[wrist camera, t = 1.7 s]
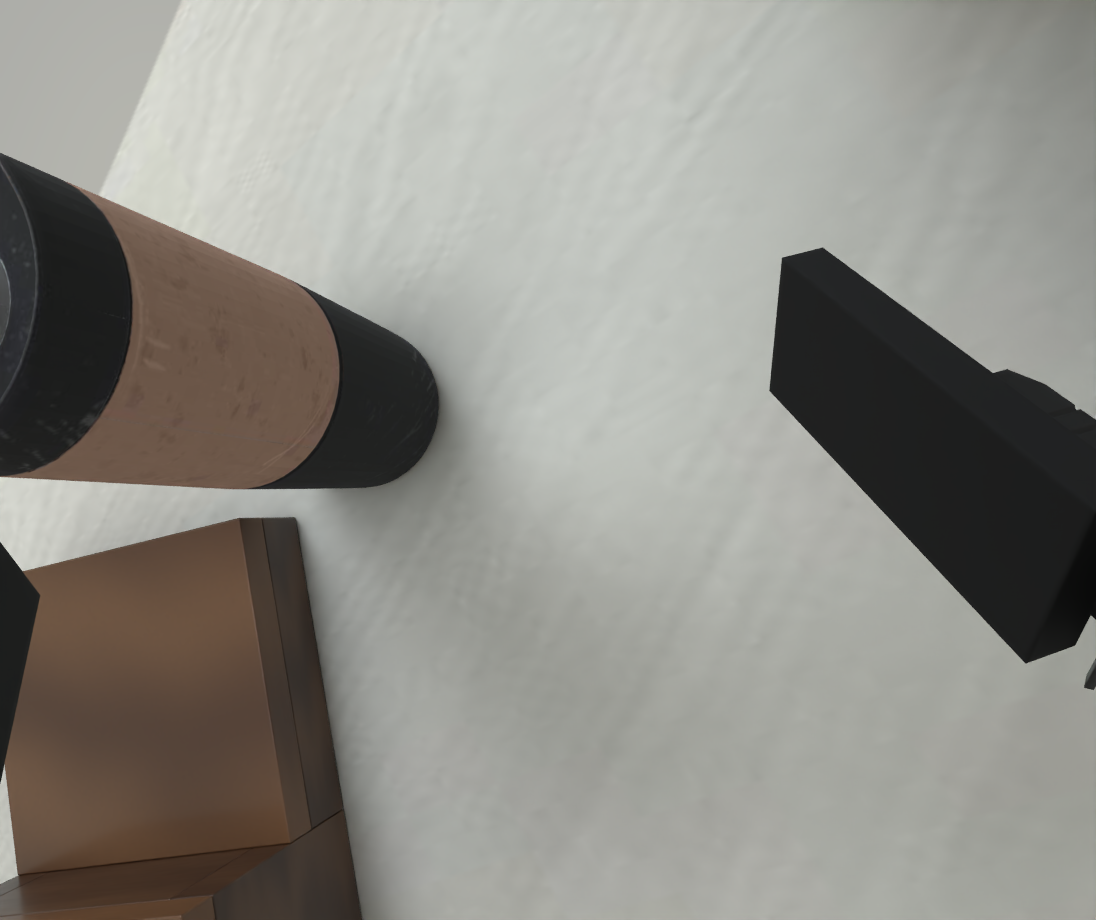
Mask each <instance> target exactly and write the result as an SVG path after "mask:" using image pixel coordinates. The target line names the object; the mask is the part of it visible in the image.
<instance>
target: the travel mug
mask: <svg viewBox="0 0 1096 920" xmlns="http://www.w3.org/2000/svg"><path fill="white" fill-rule="evenodd" d="M437 416H438V394H437V388H436V384H435V380H434V377H433V375H432V372H431V370H430V368H429V366H428V364H427V363H426V361H425V359H424V358H423V357H422V355H421V354H420V353H419V352H418V351H417V350H416V349H415V348H414V347H413V346H412V345H411V344H410V343H408V342H407V341H406V340H404V339H403V338H401V337H400V336H398V335H396V334H394V333H392V332H390V331H389V330H387V329H385V328H383V327H381V326H379V325H377V324H375V323H374V322H372V321H370V320H368V319H366V318H364V317H362V316H360V315H358V314H356V313H354V312H352V311H350V310H348V309H346V308H344V307H342V306H340V305H338V304H336V303H335V302H333V301H331V300H329V299H327V298H325V297H323V296H321V295H319V294H317V293H315V292H313V291H311V290H309V289H307V288H305V287H303V286H301V285H299V284H297V283H296V282H294V281H292V280H289V279H287V278H285V277H283V276H281V275H279V274H277V273H274V272H272V271H270V270H267V269H265V268H263V267H261V266H258V265H256V264H254V263H251V262H249V261H247V260H245V259H242V258H240V257H238V256H235V255H233V254H231V253H228V252H226V251H224V250H222V249H219V248H217V247H215V246H212V245H210V244H208V243H206V242H203V241H201V240H199V239H196V238H194V237H192V236H190V235H187V234H185V233H183V232H180V231H178V230H176V229H173V228H171V227H169V226H167V225H164V224H162V223H160V222H157V221H155V220H153V219H151V218H148V217H146V216H144V215H141V214H139V213H137V212H135V211H132V210H130V209H128V208H125V207H123V206H121V205H119V204H116V203H114V202H112V201H109V200H107V199H105V198H102V197H100V196H98V195H96V194H93V193H91V192H89V191H86V190H84V189H82V188H79V187H77V186H75V185H72V184H70V183H68V182H65V181H63V180H61V179H59V178H57V177H54V176H52V175H50V174H47V173H45V172H43V171H41V170H38V169H36V168H34V167H31V166H29V165H27V164H25V163H22V162H20V161H17V160H15V159H13V158H11V157H8V156H6V155H4V154H2V153H0V477H13V478H32V479H51V480H70V481H89V482H108V483H126V484H145V485H164V486H183V487H202V488H221V489H321V488H366V487H373V486H378V485H382V484H385V483H388V482H390V481H392V480H394V479H396V478H398V477H399V476H401V475H402V474H404V473H405V472H407V471H408V470H409V469H410V468H411V467H412V466H414V465H415V463H416V462H417V461H418V460H419V459H420V458H421V456H422V455H423V453H424V452H425V450H426V449H427V447H428V445H429V443H430V441H431V439H432V436H433V433H434V430H435V426H436V422H437Z"/></svg>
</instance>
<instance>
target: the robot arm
mask: <svg viewBox="0 0 1096 920" xmlns="http://www.w3.org/2000/svg"><path fill="white" fill-rule="evenodd" d="M770 392H771V393H772V394H773V395H774V396H775V397H776V398H777V399H778V400H779V401H780V403H781V404H782V405H783V406H784V407H785V408H786V409H787V410H788V411H789V412H790V413H791V414H792V415H793V416H794V417H795V418H796V420H797V421H798V422H799V423H800V424H801V425H802V426H803V427H804V428H805V429H806V430H807V431H808V432H809V433H810V434H811V436H812V437H813V438H814V439H815V440H816V441H817V442H818V443H819V444H820V445H821V446H822V447H823V448H824V449H825V450H826V451H827V453H828V454H829V455H830V456H831V457H832V458H833V459H834V460H835V461H836V462H837V463H838V464H839V465H840V466H841V467H842V469H843V470H844V471H845V472H846V473H847V474H848V475H849V476H850V477H851V478H852V479H853V480H854V481H855V482H856V483H857V485H858V486H859V487H860V488H861V489H862V490H863V491H864V492H865V493H866V494H867V495H868V496H869V497H870V498H871V499H872V500H873V502H874V503H875V504H876V505H877V506H878V507H879V508H880V509H881V510H882V511H883V512H884V513H885V514H886V515H887V516H888V518H889V519H890V520H891V521H892V522H893V523H894V524H895V525H896V526H897V527H898V528H899V529H900V530H901V531H902V532H903V533H904V535H905V536H906V537H907V538H908V539H909V540H910V541H911V542H912V543H913V544H914V545H915V546H916V547H917V548H918V549H919V551H920V552H921V553H922V554H923V555H924V556H925V557H926V558H927V559H928V560H929V561H930V562H931V563H932V564H933V565H934V566H935V568H936V569H937V570H938V571H939V572H940V573H941V574H942V575H943V576H944V577H945V578H946V579H947V580H948V581H949V582H950V584H951V585H952V586H953V587H954V588H955V589H956V590H957V591H958V592H959V593H960V594H961V595H962V596H963V597H964V598H965V599H966V601H967V602H968V603H969V604H970V605H971V606H972V607H973V608H974V609H975V610H976V611H977V612H978V613H979V614H980V615H981V617H982V618H983V619H984V620H985V621H986V622H987V623H988V624H989V625H990V626H991V627H992V628H993V629H994V630H995V631H996V632H997V634H998V635H999V636H1000V637H1001V638H1002V639H1003V640H1004V641H1005V642H1006V643H1007V644H1008V645H1009V646H1010V647H1011V648H1012V650H1013V651H1014V652H1015V653H1016V654H1017V655H1018V656H1019V657H1020V658H1021V659H1022V660H1023V661H1024V662H1025V663H1028V662H1031V661H1034V660H1037V659H1039V658H1042V657H1045V656H1048V655H1050V654H1053V653H1056V652H1058V651H1061V650H1064V649H1067V648H1069V647H1072V646H1075V645H1076V643H1077V641H1078V639H1079V637H1080V635H1081V633H1082V631H1083V629H1084V627H1085V625H1086V623H1087V621H1088V619H1089V617H1090V615H1091V616H1093V617H1094V618H1095V619H1096V420H1095V419H1094V418H1092V417H1091V416H1089V415H1088V414H1087V413H1085V412H1084V411H1082V410H1081V409H1080V410H1076V409H1075V405H1074V404H1072V403H1071V402H1070V401H1068V400H1067V399H1065V398H1064V397H1062V396H1061V395H1060V394H1058V393H1057V392H1055V391H1054V390H1053V389H1051V388H1050V387H1048V386H1047V385H1045V384H1043V383H1041V382H1038V381H1036V380H1033V379H1031V378H1028V377H1025V376H1023V375H1020V374H1018V373H1015V372H1013V371H1010V370H1008V369H1006V370H1003V371H999V372H996V373H992V372H990V371H989V370H988V369H986V368H985V367H984V366H982V365H981V364H980V363H978V362H977V361H976V360H974V359H973V358H971V357H970V356H969V355H967V354H966V353H965V352H963V351H962V350H961V349H959V348H958V347H957V346H955V345H954V344H953V343H951V342H950V341H948V340H947V339H946V338H944V337H943V336H942V335H940V334H939V333H938V332H936V331H935V330H934V329H932V328H931V327H930V326H928V325H927V324H925V323H924V322H923V321H921V320H920V319H919V318H917V317H916V316H915V315H913V314H912V313H911V312H909V311H908V310H906V309H905V308H904V307H902V306H901V305H900V304H898V303H897V302H896V301H894V300H893V299H892V298H890V297H889V296H888V295H886V294H885V293H883V292H882V291H881V290H879V289H878V288H877V287H875V286H874V285H873V284H871V283H870V282H869V281H867V280H866V279H864V278H863V277H862V276H860V275H859V274H858V273H856V272H855V271H854V270H852V269H851V268H850V267H848V266H847V265H846V264H844V263H843V262H841V261H840V260H839V259H837V258H836V257H835V256H833V255H832V254H831V253H829V252H828V251H827V250H825V249H824V248H819V249H815V250H811V251H807V252H803V253H799V254H795V255H791V256H787V257H783V258H782V264H781V275H780V285H779V296H778V306H777V317H776V327H775V338H774V348H773V359H772V370H771V380H770ZM39 599H40V594H39V593H38V591H37V590H36V589H35V587H34V586H33V585H32V583H31V582H30V581H29V580H28V578H27V577H26V576H25V574H24V573H23V572H22V570H21V569H20V568H19V566H18V565H17V564H16V562H15V561H14V560H13V558H12V557H11V556H10V554H9V553H8V552H7V550H6V549H5V548H4V546H3V545H2V544H1V542H0V782H1V778H2V773H3V768H4V764H5V759H6V754H7V749H8V745H9V740H10V735H11V731H12V726H13V721H14V717H15V712H16V707H17V703H18V698H19V693H20V688H21V684H22V679H23V674H24V670H25V665H26V660H27V656H28V651H29V646H30V642H31V637H32V632H33V627H34V623H35V618H36V613H37V609H38V604H39ZM1095 687H1096V659H1095V661H1094V663H1093V664H1092V666H1091V668H1090V670H1089V672H1088V673H1087V676H1086V681H1085V685H1084V688H1088V689H1092V690H1094V688H1095Z"/></svg>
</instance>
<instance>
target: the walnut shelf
mask: <svg viewBox="0 0 1096 920" xmlns="http://www.w3.org/2000/svg"><path fill="white" fill-rule="evenodd" d="M22 572H23V573H24V574H25V576H26V577H27V578H28V580H29V581H30V582H31V583H32V585H33V586H34V587H35V589H36V590H37V591H38V593H39V594H40V599H39V604H38V609H37V613H36V618H35V623H34V627H33V632H32V637H31V642H30V646H29V651H28V656H27V660H26V665H25V670H24V674H23V679H22V684H21V688H20V693H19V698H18V703H17V707H16V712H15V717H14V721H13V726H12V731H11V735H10V740H9V745H8V749H7V754H6V759H5V771H6V779H7V788H8V796H9V804H10V813H11V821H12V830H13V838H14V846H15V855H16V863H17V872H18V875H19V876H17V877H15V878H12V879H10V880H8V881H6V882H4V883H2V884H0V920H362V918H361V912H360V906H359V900H358V894H357V888H356V882H355V876H354V870H353V864H352V857H351V851H350V845H349V839H348V833H347V827H346V821H345V815H344V810H343V803H342V797H341V791H340V785H339V779H338V773H337V767H336V761H335V755H334V749H333V743H332V737H331V731H330V725H329V719H328V713H327V707H326V701H325V695H324V689H323V683H322V677H321V671H320V665H319V659H318V653H317V647H316V641H315V635H314V629H313V623H312V617H311V611H310V605H309V599H308V593H307V587H306V581H305V575H304V569H303V562H302V556H301V550H300V544H299V538H298V532H297V526H296V520H295V518H294V517H288V518H237V519H233V520H229V521H225V522H221V523H217V524H213V525H209V526H205V527H201V528H197V529H193V530H189V531H185V532H180V533H176V534H172V535H168V536H164V537H160V538H156V539H152V540H148V541H144V542H140V543H136V544H132V545H128V546H124V547H120V548H116V549H112V550H108V551H104V552H99V553H95V554H91V555H87V556H83V557H79V558H75V559H71V560H67V561H63V562H59V563H55V564H51V565H47V566H43V567H39V568H35V569H31V570H27V571H22Z"/></svg>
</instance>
